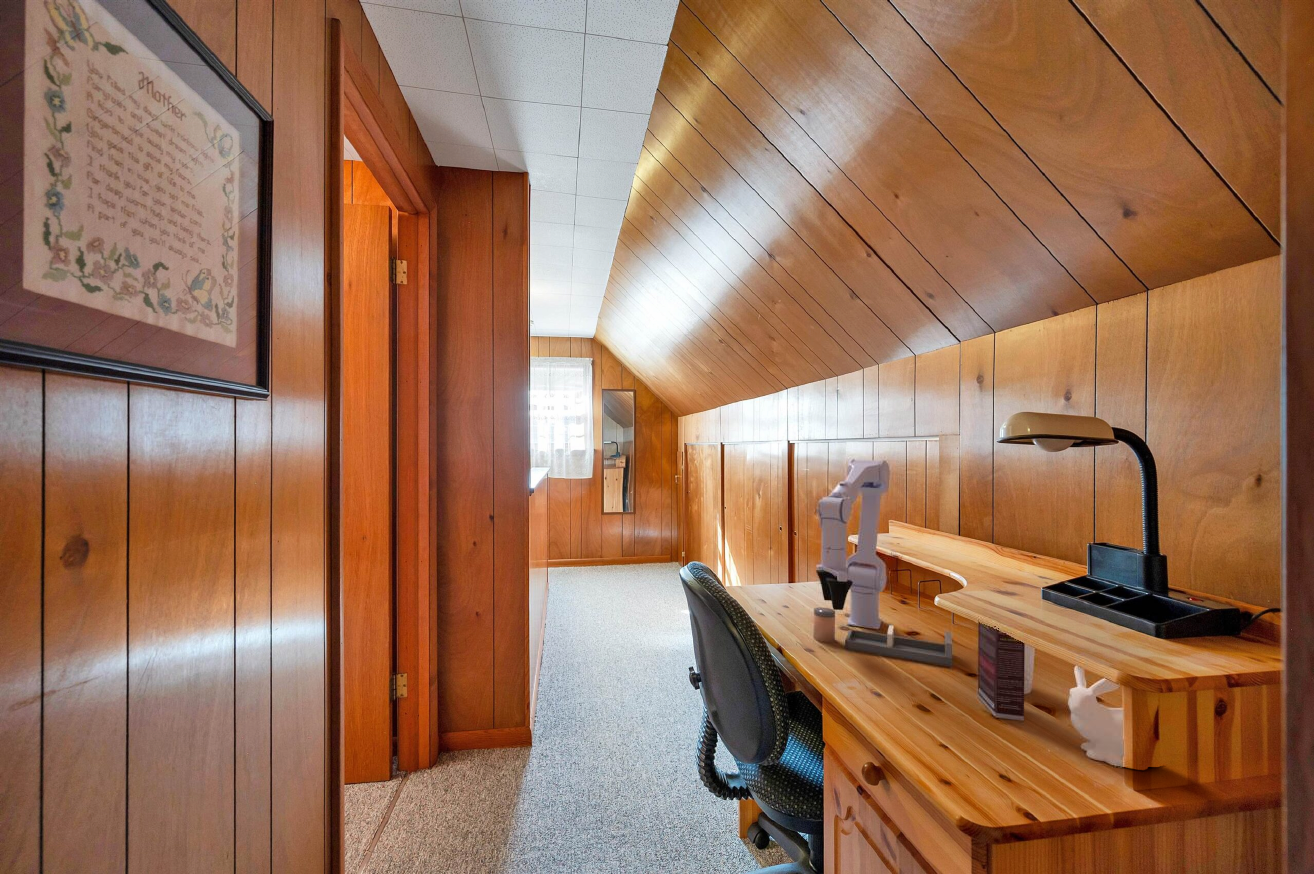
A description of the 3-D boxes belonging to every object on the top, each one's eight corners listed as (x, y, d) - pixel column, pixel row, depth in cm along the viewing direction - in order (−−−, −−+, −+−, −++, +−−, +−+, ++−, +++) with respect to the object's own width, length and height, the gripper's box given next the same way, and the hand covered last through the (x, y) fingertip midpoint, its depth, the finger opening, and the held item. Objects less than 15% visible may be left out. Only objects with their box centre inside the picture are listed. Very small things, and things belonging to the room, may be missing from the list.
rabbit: (1069, 757, 83) (1069, 677, 83) (1064, 731, 90) (1064, 658, 91) (1178, 785, 76) (1177, 698, 76) (1161, 754, 84) (1161, 676, 84)
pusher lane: (850, 637, 135) (850, 616, 135) (950, 653, 125) (950, 631, 125) (845, 648, 126) (845, 627, 127) (952, 667, 117) (952, 644, 117)
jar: (815, 634, 136) (815, 606, 137) (836, 637, 134) (836, 609, 134) (811, 640, 132) (812, 611, 132) (833, 644, 130) (833, 614, 130)
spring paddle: (889, 641, 130) (889, 625, 130) (893, 642, 129) (893, 625, 129) (887, 651, 123) (887, 633, 123) (891, 652, 123) (892, 634, 123)
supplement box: (1026, 722, 93) (1026, 629, 94) (995, 718, 94) (995, 626, 95) (1004, 699, 102) (1005, 614, 102) (976, 696, 103) (976, 612, 103)
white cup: (1020, 680, 111) (1020, 630, 111) (1044, 697, 103) (1044, 644, 103) (979, 677, 112) (980, 628, 112) (1000, 694, 104) (1000, 642, 104)
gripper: (809, 541, 137) (808, 595, 137) (825, 552, 123) (824, 613, 122) (837, 542, 137) (837, 596, 136) (856, 553, 122) (856, 614, 122)
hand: (833, 604), depth 129 cm, fingers open, 7 cm apart
